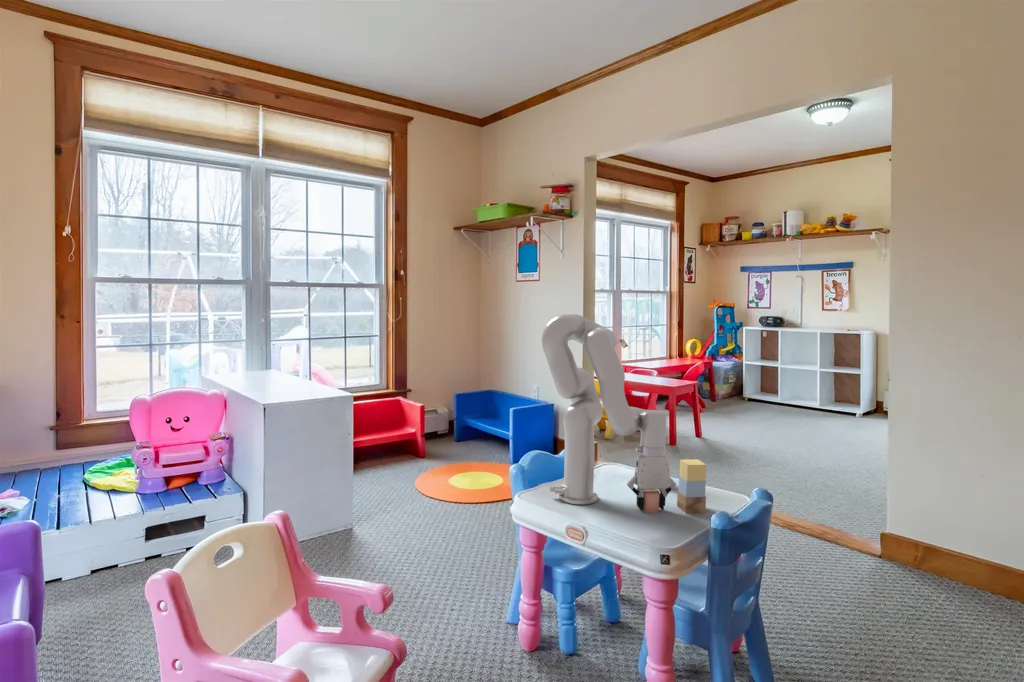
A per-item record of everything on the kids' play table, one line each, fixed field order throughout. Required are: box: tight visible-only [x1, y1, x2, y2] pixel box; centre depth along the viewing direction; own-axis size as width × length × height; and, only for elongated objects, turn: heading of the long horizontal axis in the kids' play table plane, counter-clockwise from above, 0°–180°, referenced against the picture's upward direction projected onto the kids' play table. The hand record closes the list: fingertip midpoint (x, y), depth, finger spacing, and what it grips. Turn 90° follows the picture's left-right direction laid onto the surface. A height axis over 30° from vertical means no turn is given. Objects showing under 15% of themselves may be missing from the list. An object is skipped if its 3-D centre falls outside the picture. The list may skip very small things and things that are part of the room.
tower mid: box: [678, 474, 707, 497], centre depth 182 cm, size 6×6×5 cm
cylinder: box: [642, 489, 660, 514], centre depth 181 cm, size 5×5×6 cm
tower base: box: [676, 490, 707, 514], centre depth 182 cm, size 6×6×5 cm
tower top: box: [679, 458, 707, 481], centre depth 182 cm, size 6×6×5 cm
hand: (650, 507), depth 181 cm, fingers open, 5 cm apart
